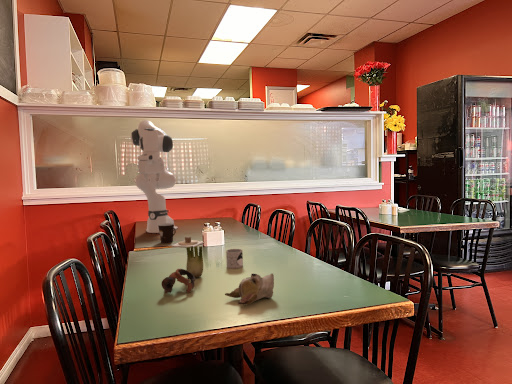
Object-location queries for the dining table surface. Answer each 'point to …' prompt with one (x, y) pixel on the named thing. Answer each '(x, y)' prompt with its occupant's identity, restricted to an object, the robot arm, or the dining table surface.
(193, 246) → the grey mat
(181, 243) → the wooden lid
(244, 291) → the ceramic sculpture
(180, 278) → the brown black curved piece
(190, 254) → the fennel bulb
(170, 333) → the dining table surface
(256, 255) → the dining table surface
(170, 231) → the coffee mug
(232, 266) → the mug
